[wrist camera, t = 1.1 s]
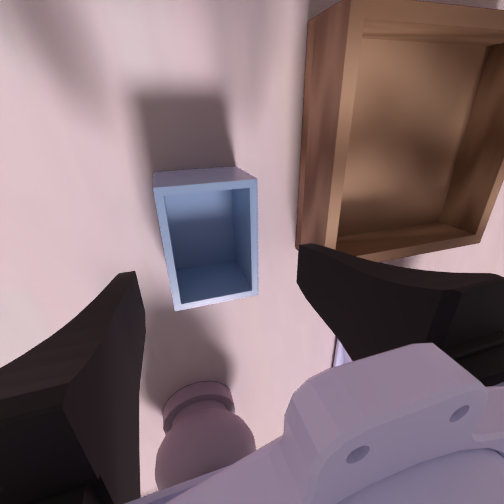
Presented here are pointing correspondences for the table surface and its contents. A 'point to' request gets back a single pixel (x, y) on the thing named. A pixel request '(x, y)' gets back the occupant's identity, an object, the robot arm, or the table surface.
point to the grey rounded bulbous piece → (200, 434)
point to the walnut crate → (401, 127)
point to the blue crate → (208, 234)
